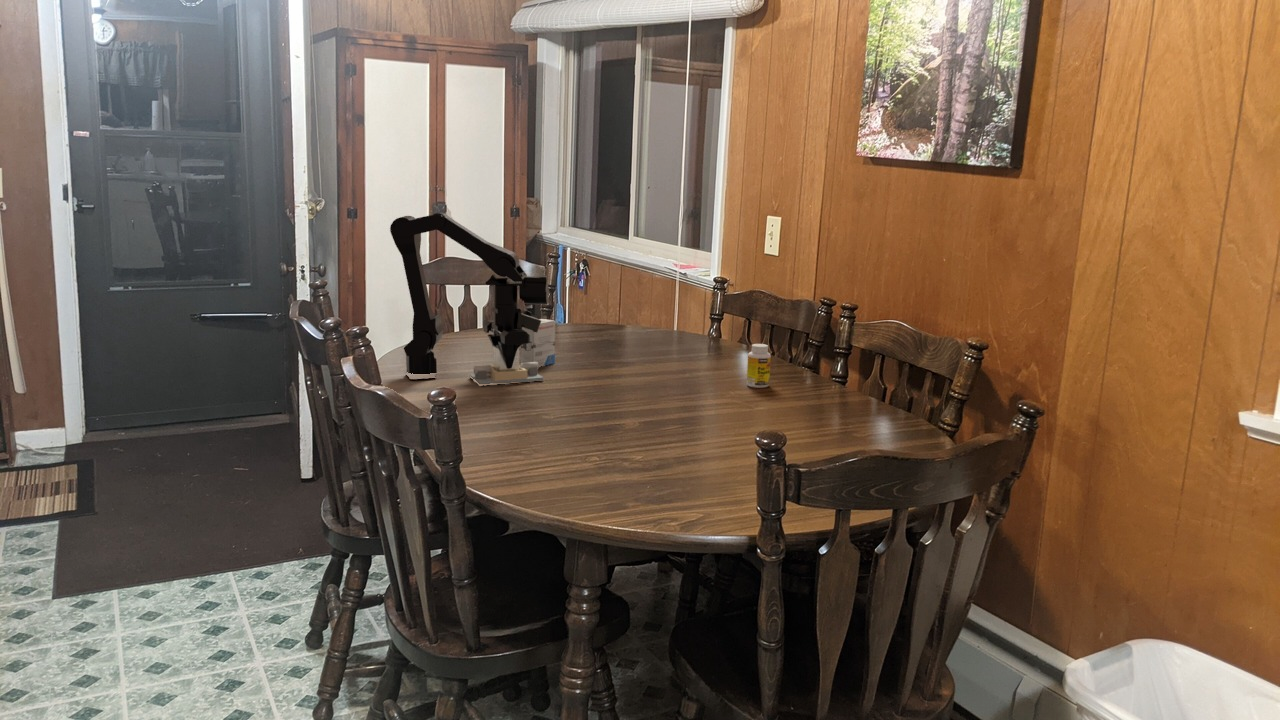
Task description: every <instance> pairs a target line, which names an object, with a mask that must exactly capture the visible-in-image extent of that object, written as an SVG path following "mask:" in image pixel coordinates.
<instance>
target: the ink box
mask: <svg viewBox="0 0 1280 720" xmlns="http://www.w3.org/2000/svg"><path fill="white" fill-rule="evenodd" d="M538 319H539V320H541V323H540V326H539V329H538V332H533V330H530V329H527V328H523V327H522V330H524V331H526V332H527V333H528V334H529V335H530V343H525V344H522V345H521V346H520V364H521V363H526V362H538V365H539V366H542V367H545V366H544V365H547V366H549V364H551V365H554V364H555V363H556V361H555V360H556V320H552V319H545V318H538ZM553 363H554V364H553Z"/></svg>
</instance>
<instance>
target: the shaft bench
mask: <svg viewBox="0 0 1280 720" xmlns="http://www.w3.org/2000/svg"><path fill="white" fill-rule="evenodd" d="M539 368H540V367H539V365H538V362H526V363H521V362H520V364H519V370H514V371H501V372H497V371H496V370H494V364H487V365H475V366H473V373H471V374H469V377H470V376H471V377H472V378H473V379H475V380H476V381H477V382H478V383H479V384H490V383H511V382H528V381H529V382H530V383H532V382H531V381H542V382H544V377H543V376H542V375H540V374H538V370H539Z"/></svg>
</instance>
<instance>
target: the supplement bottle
mask: <svg viewBox="0 0 1280 720" xmlns="http://www.w3.org/2000/svg"><path fill="white" fill-rule="evenodd" d="M768 350H769V345H768V344H765V343H754V344H751V351H750V352H748V354H747V367H746V368H747V369H746V385H747V386H748V387H750V388H754V389H755V388H756V389H759V388H760V389H764V388H767V387H769V385H770V376H771V375H770V374H771V360H772V359H771V358H772V357H771V353H770V352H769V351H768Z"/></svg>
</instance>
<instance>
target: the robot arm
mask: <svg viewBox="0 0 1280 720" xmlns="http://www.w3.org/2000/svg"><path fill="white" fill-rule="evenodd" d="M433 231H439V232H440V233H442V234H443V235H445V236H446V237H448V238H449V239H451V240H452V241H454V242H455V243H457V244H459V245H460V246H462V247H464V248H465V249H467V250H468V251H470V252H471V253H473V254H475V255H476V256H478V258H480V259H481V260H482V261H483V263H484V264H485V265H486V266H487V267H488V268H489V269H490V270H491V271H492V272H494V273H495V274H494V273H493V274H491V276H490V278H489V279H488V280H487V281H485V285H487V286H493V306H491V311H492V312H493V319H487V320H486V321H484V322H483V325H482V326H483V332H485V334H487V337H488V339H489V341H490V343H491V346H492V347H493V346H497V345H499V346H500V349H501V352H502V355H503V358H504V361H505V364H506V367H507V368H508V369H510V368H512V365H513V362H514V359H515V355H516V352H517V349H518V348H519V349H520V348H521V345H522V344H525V343H530V335H529V334H528V333H527V332H526V331H524V330H522V327H523V328H527V329H530V330H533V332H538V329H539V326H540V323H541V320H539V319H540V318H537V317H535V316H532V312H531V311H528V310H527V309H523V310H522V308H520V307H518V306H519V302H518V301H519V300H521V301H522V302H523V303H524V304H525V305H549V299H550V288H549V282H548V276H547V275H541V276H529V275H527V273H526V272H525V271H524V269H523V268H522V267H521V265H520V259H519V256H518V255H517V253H515V252H514V251H512V250H510V249H507V248H505V247H503V246H500V245H496V244H494V243H491V242H490V241H487V240H485V239H484V238H482V237H481V236H479V235H478V234H477V233H475V232H473V231H472V230H470V229H468V228H467V227H465V226H464V225H462V224H461V223H459V222H458V221H456V220H455V219H453V218H451V217H450V216H449V215H448V214H447V213H445V212H441V211H440V212H436V213H434V214H430V215H426V216H421V217H417V218H416V217H414V216H411V215H404V216H400V217H396V218H395V219H394V220H393V221H392V222H391V224H390V227H389V232H390V235H391V237H392V240H393V241H394V245H395V246H396V248H397V250H398V252H399V253H400V255H401V257H402V262H403V268H404V272H405V276H406V282H407V286H408V291H409V297H410V301H411V305H412V306H411V307H412V309H413V310H412V311H413V318H412V339H411V340H410V341H409V342H408V343H407V344H406V345H405V346H404V347H403V351H404V354H405V357H406V358H405V359H406V360H405V361H406V362H405V363H406V373H407V372H408V373H411V374H412V373H413V374H430V373H438V371H437V369H438V368H437V358H436V357H435V352H434V351H433V350H434V349H435V346H436V345H437V344H439V342H440V341H441V340H442V338H443V332H444V331H445V327H444V326H443V324H442V315H441V314H438V315H436V314H435V312H434V311H433V309H432V306H431V300H430V296H429V291H428V287H427V281H426V277H425V272H424V270H425V269H424V266H423V261H422V256H421V245H422V243H421V242H422V234H424V233H428V232H433ZM496 275H497V276H496ZM498 276H499V277H498ZM518 296H519V297H518ZM518 299H519V300H518ZM489 333H490V334H489Z"/></svg>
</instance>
